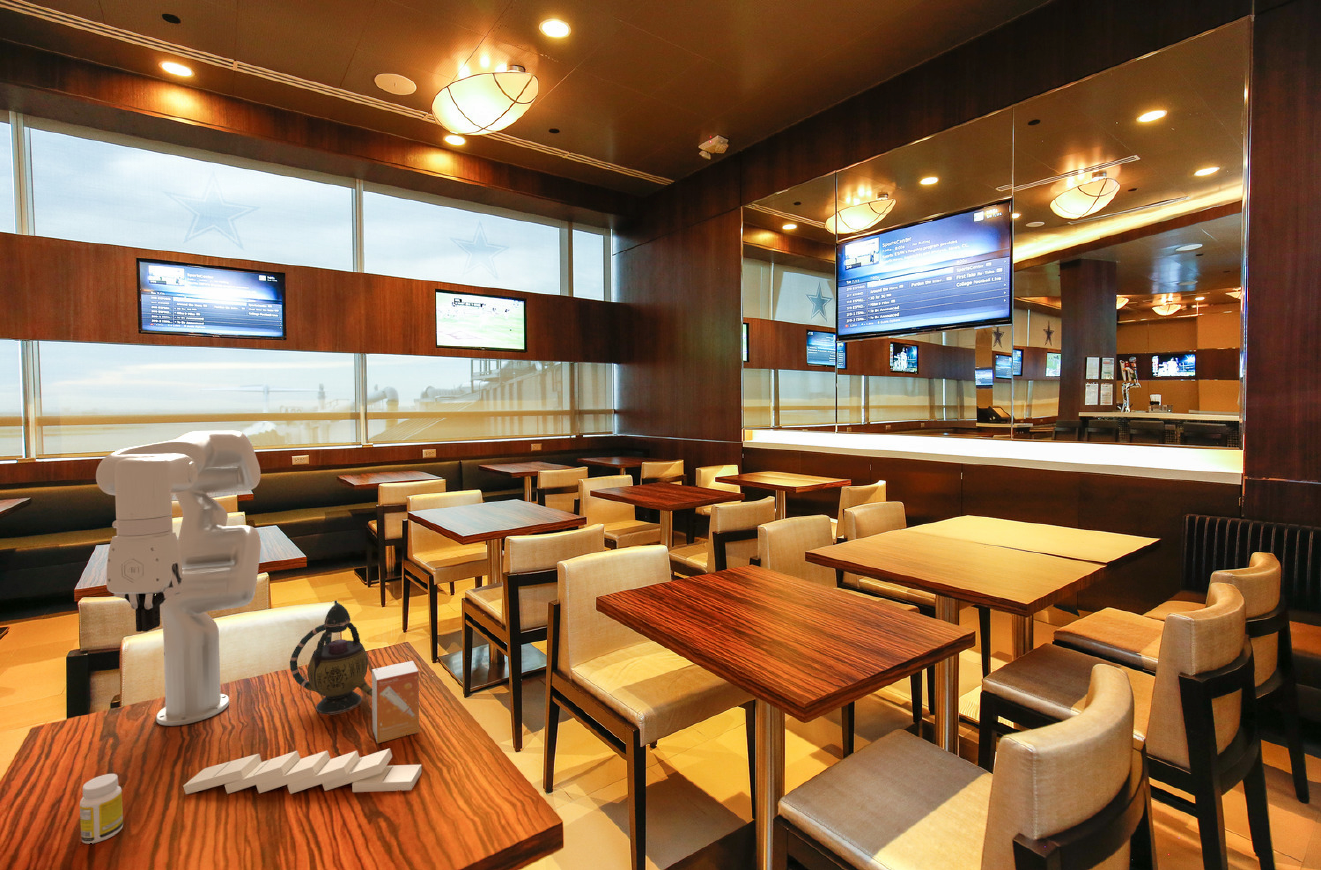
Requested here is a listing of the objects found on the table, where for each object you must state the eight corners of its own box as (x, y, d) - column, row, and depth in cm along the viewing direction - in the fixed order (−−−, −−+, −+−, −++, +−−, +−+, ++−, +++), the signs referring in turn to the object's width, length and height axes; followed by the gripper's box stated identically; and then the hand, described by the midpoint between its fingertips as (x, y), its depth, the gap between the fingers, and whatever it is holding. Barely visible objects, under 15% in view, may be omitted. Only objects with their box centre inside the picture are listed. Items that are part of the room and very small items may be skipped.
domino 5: (321, 782, 102) (378, 764, 103) (335, 765, 107) (389, 748, 108) (324, 791, 103) (381, 772, 103) (338, 773, 108) (392, 756, 108)
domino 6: (352, 783, 102) (411, 781, 103) (365, 766, 107) (421, 764, 108) (352, 792, 102) (411, 790, 103) (365, 775, 107) (421, 773, 108)
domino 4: (287, 785, 102) (343, 766, 102) (303, 767, 107) (357, 750, 107) (290, 794, 102) (346, 775, 102) (306, 776, 107) (360, 758, 107)
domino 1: (183, 785, 102) (240, 769, 102) (204, 768, 107) (259, 753, 107) (185, 794, 102) (243, 778, 102) (206, 776, 107) (261, 761, 107)
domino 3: (256, 784, 102) (312, 766, 102) (273, 767, 107) (327, 750, 107) (259, 793, 102) (315, 775, 102) (276, 775, 107) (330, 758, 107)
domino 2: (224, 785, 102) (280, 766, 102) (243, 767, 107) (297, 750, 107) (227, 793, 102) (283, 775, 102) (246, 776, 107) (300, 758, 107)
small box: (376, 744, 117) (375, 680, 117) (372, 730, 122) (371, 668, 122) (420, 732, 121) (419, 670, 121) (413, 719, 127) (412, 659, 126)
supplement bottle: (127, 819, 95) (126, 768, 95) (117, 838, 91) (115, 785, 91) (88, 829, 93) (86, 777, 93) (75, 848, 89) (73, 794, 89)
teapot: (333, 686, 142) (331, 591, 141) (415, 704, 133) (413, 602, 133) (285, 710, 131) (283, 606, 130) (372, 731, 122) (370, 619, 121)
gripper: (82, 531, 101) (85, 637, 102) (170, 530, 101) (173, 636, 102) (121, 523, 109) (124, 622, 109) (203, 522, 109) (206, 621, 110)
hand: (148, 628), depth 106 cm, fingers closed
